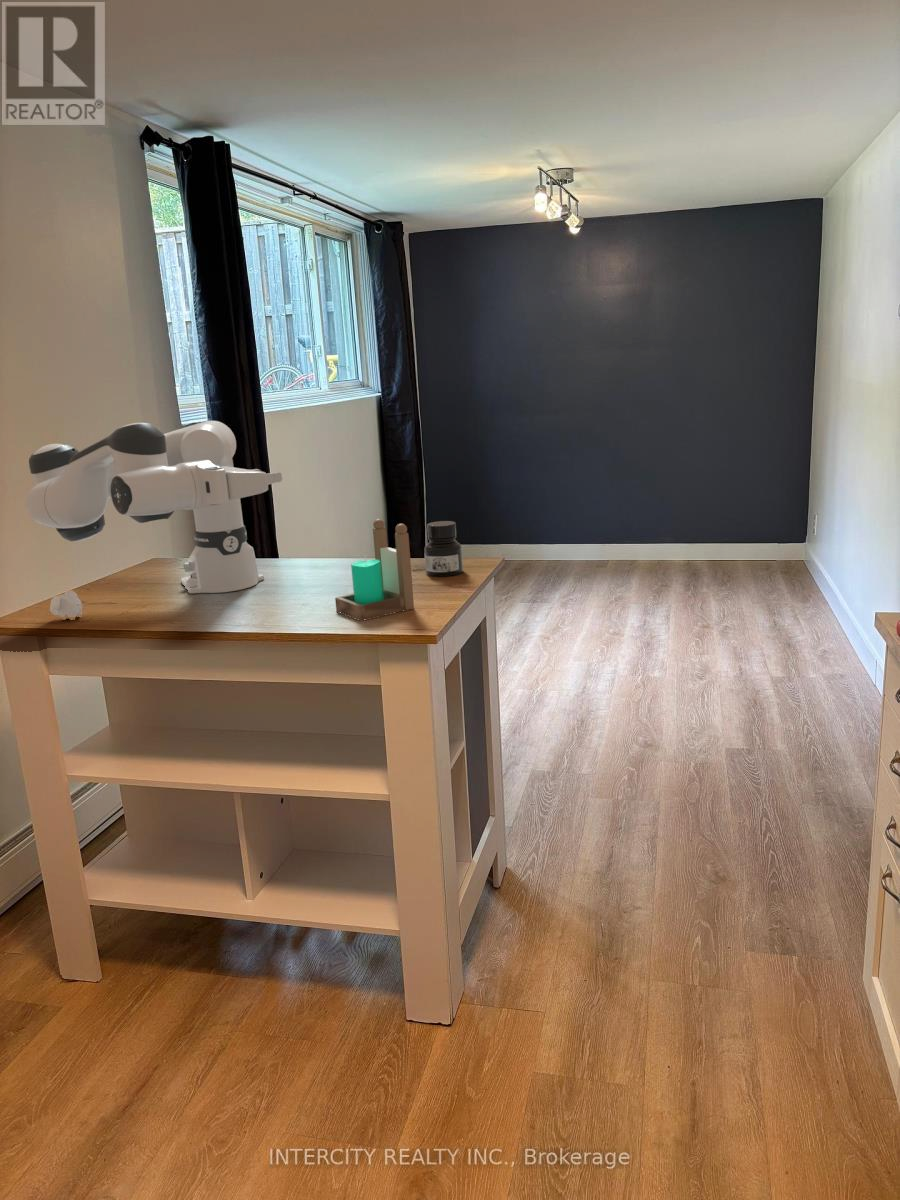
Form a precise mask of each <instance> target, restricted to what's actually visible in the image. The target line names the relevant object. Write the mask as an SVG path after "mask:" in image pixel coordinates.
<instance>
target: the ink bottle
mask: <svg viewBox="0 0 900 1200" xmlns="http://www.w3.org/2000/svg"><path fill="white" fill-rule="evenodd" d="M426 529H427V539H428V541H429V542H427V544H426V545H425V546H424V550H423V551H424V565H425V566H424V567H425V573H426V575H428V576H432V577H450V576H451V575H452V576H455V575H458V574H461V573H462V572H463V570H464V568H463V554H462V553H463V551H462V550H463V549H462V544H461V543H459V542H458V540H456V538H457V524H456V522H455V521H452V520H439V521H433V522H432V521H431V522H430V523H427V524H426Z"/></svg>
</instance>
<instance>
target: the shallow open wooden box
mask: <svg viewBox="0 0 900 1200" xmlns="http://www.w3.org/2000/svg"><path fill="white" fill-rule="evenodd" d="M334 599H335V608H336V612H337V611H339V612H341V613H340V614H342V613H344V614H346V615H345V616H347V615H349V616H351V617H350V618H352V617H353V618H352V619H354V618H356V619H355V620H357V619H359V620H358V621H360V620H364V619H368V620H370V619H369V618H372V619H374V618H373V617H376V618H378V617H377V616H380V617H383V616H382V615H385V614H389V615H391V614H390V613H393V614H395V613H394V612H397V613H399V612H398V611H401V612H404V611H403V610H405V600H404V596H401V595H398V594H395V593H392V592H389V591H386V590H383V599H384V600H381V601H376V602H372V603H368V604H363V605H361V604H358V603H355V600H354V593H351V594H345V595H341V596H337V597H335V598H334ZM339 612H338V613H339ZM344 614H343V615H344ZM349 616H348V617H349ZM385 616H386V615H385ZM364 621H365V620H364Z"/></svg>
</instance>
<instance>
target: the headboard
mask: <svg viewBox="0 0 900 1200" xmlns="http://www.w3.org/2000/svg"><path fill="white" fill-rule="evenodd" d="M372 527H373V528H372V536H373V538H372V539H373V547H374V548H373V549H374V560H379V561H380V564H381V575H382V587H383V590H386V591H389V592H392V593H395V594H398V595H401V596H404V600H405V610H407V611H410V610H409V609H411V610H414V609H415V601H414V589H413V578H412V564H411V552H410V537H409V533H408V532H407V531H408V527H407V526H406V525H405V523H399V524H398V523H397V525H396V526H395V527H394V528H395V533H394V540H395V542H394V543H395V548H394V547H393V548H392V547H388V540H387V539H388V538H387V530H386V527H385V522H384V519H381V518H377V519H374V521H373V523H372Z"/></svg>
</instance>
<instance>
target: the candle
mask: <svg viewBox="0 0 900 1200" xmlns="http://www.w3.org/2000/svg"><path fill="white" fill-rule="evenodd" d="M366 557H367V556H366V555H364V560H357V561H356V562H353V563H350V567H351V575H352V576H351V577H352V588H353V594H354V600H355V603H358V604H361V605H363V604H368V603H372V602H376V601H381V600H384V599H383V587H382V575H381V564H380V561H379V560H375V558H374V559H373V558H372V559H368V560H366V559H367V558H366Z"/></svg>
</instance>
